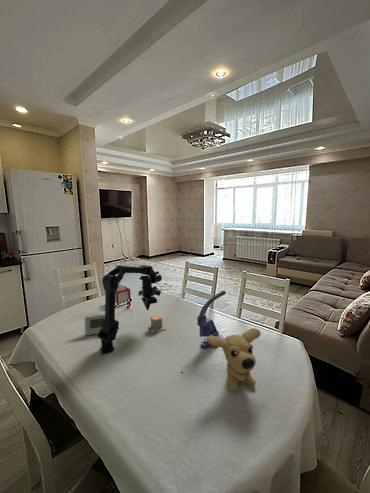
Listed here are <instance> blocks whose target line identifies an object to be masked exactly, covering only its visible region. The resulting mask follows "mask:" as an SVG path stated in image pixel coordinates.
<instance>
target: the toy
mask: <svg viewBox="0 0 370 493" xmlns="http://www.w3.org/2000/svg"><path fill="white" fill-rule="evenodd" d="M260 336H261V330H260V329H259V328H253V327H252V328H249V329H248V330H247V331H244V332H243V333H242V334H241V335H240V334H231V335H227V336H226V337H224V339H223V338H220V337H216V336H212V335H210V336H209V337H207V336H206V337H207V342H208V343H209V344H210V345H212V346H218V348H222V351H223V354H224V355H225V360H226V362H227V363H226V372H227V374H226V375H227V380H226V381H227V385H228V388H229V389H230V391H232V392H235V391H236V390H237V388H238V387H237V386H238V385H237V384H238V383H237V382H243V383H246V384H248V385H249V386H251V387H255V386H256V384H257V382H256V380H255V379H254V377H253V376H252V374H251V371H252V370H254V368H255V367H256V364H257V362H256V357H255V356H254V354H253V350H254V346H253V344H252V343H253V341H254V340H257V339H258V338H259V337H260Z"/></svg>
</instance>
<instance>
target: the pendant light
mask: <svg viewBox="0 0 370 493" xmlns="http://www.w3.org/2000/svg"><path fill="white" fill-rule="evenodd" d="M119 265H120V264H119ZM119 265H115V268H116V267H117V266H119ZM128 298H131V299H132V296H131V288H128V287H127V286H125V285H123V284H121V281H120V282H119V286H118V288H117V290H116V292H115V303H117V305H119V304H121V303H125V302H127V299H128Z"/></svg>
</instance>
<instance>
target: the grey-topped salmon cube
mask: <svg viewBox="0 0 370 493" xmlns="http://www.w3.org/2000/svg"><path fill="white" fill-rule="evenodd" d="M150 326H151V327H152V328H153V329H154V330H157V329H161V328H162V326H163V317H162V316H161V315H159V314H158V315H157V314H156V315H153V316H150Z"/></svg>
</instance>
